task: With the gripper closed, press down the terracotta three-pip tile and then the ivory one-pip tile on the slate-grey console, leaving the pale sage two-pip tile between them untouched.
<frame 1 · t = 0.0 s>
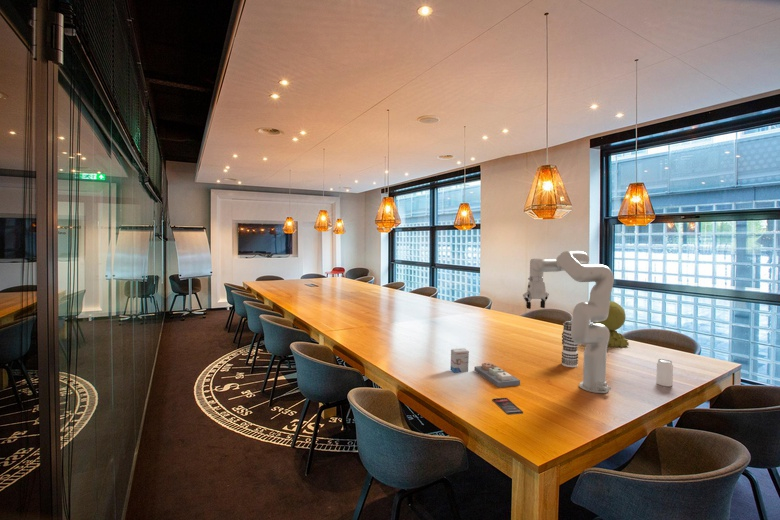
hand: (535, 308, 223), 31 cm above the table, fingers open, 9 cm apart
leaning tower model: (569, 365, 216), on the table
trophy: (606, 343, 263), on the table
can: (664, 385, 187), on the table
ink box: (459, 371, 205), on the table
smartphone: (507, 407, 162), on the table
tile one: (504, 376, 188), point 3 cm above the table, slide at 0.0 cm
console: (496, 377, 196), on the table
tile three: (488, 366, 203), point 3 cm above the table, slide at 0.0 cm
tile two: (496, 371, 195), point 3 cm above the table, slide at 0.0 cm
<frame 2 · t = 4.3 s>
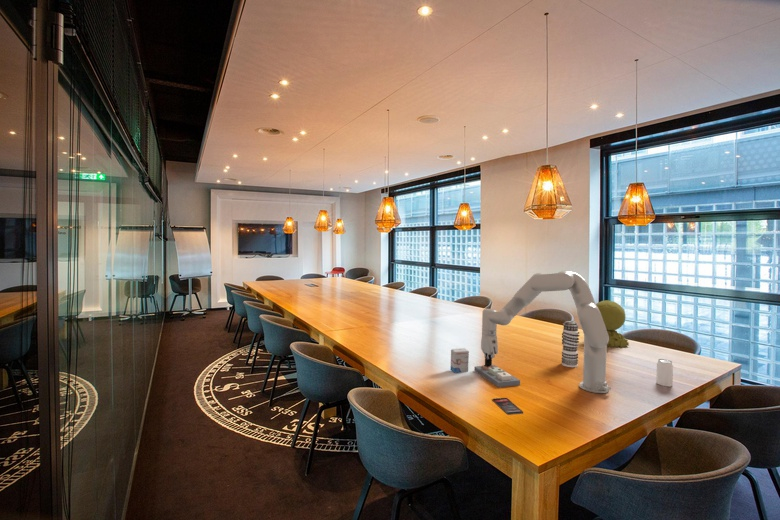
hand: (488, 365, 203), 4 cm above the table, fingers closed
tile three: (488, 368, 203), point 2 cm above the table, slide at 0.9 cm, touching gripper
everything else where it was.
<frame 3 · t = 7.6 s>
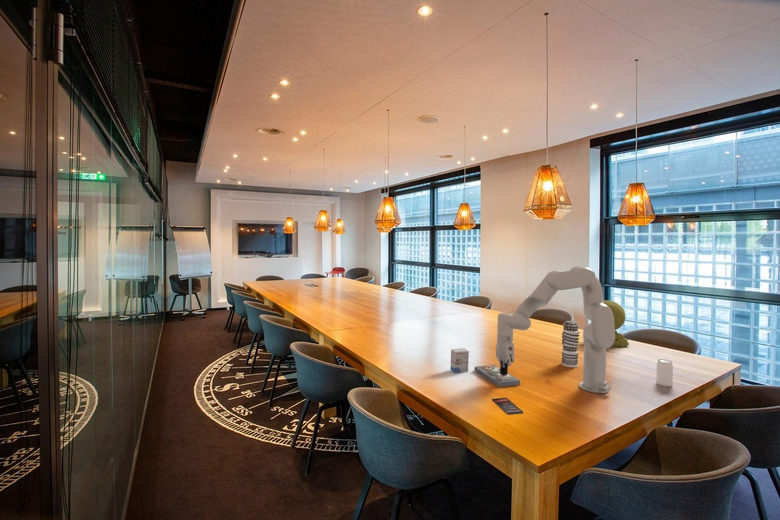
hand: (503, 374, 188), 4 cm above the table, fingers closed
tile one: (504, 377, 188), point 3 cm above the table, slide at 0.4 cm, touching gripper
tile three: (488, 369, 203), point 2 cm above the table, slide at 1.6 cm
everything else where it was.
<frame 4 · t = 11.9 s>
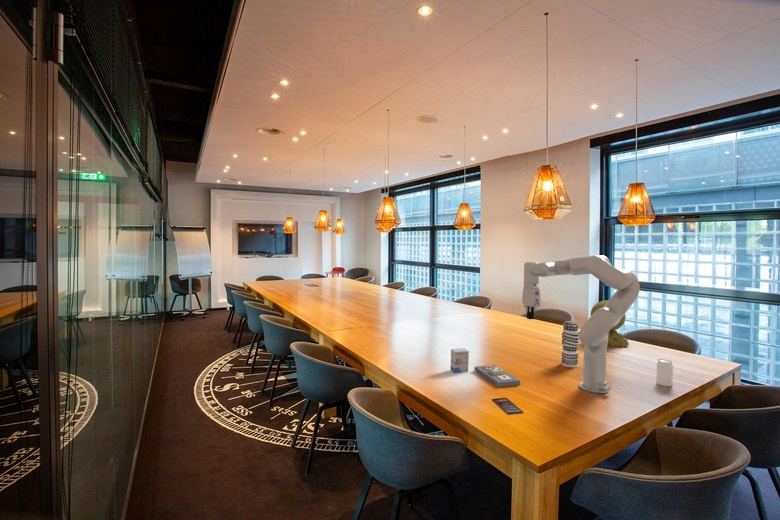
hand: (530, 318, 203), 29 cm above the table, fingers closed
tile one: (504, 379, 188), point 2 cm above the table, slide at 1.6 cm
everything else where it was.
at the end: tile three slide at 1.6 cm; tile one slide at 1.6 cm; tile two slide at 0.0 cm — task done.
